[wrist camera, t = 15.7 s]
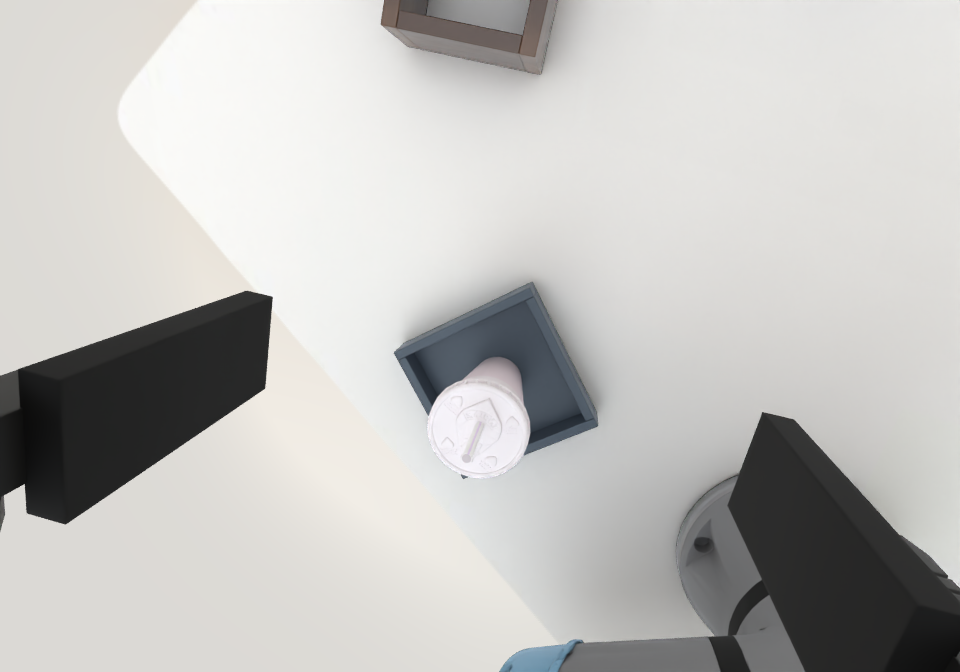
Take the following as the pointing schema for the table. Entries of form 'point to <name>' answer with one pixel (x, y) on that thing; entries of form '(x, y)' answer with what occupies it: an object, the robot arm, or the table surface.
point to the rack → (473, 35)
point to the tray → (519, 338)
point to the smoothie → (481, 421)
